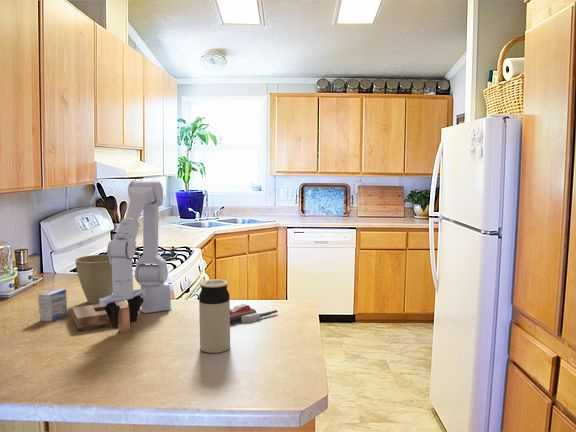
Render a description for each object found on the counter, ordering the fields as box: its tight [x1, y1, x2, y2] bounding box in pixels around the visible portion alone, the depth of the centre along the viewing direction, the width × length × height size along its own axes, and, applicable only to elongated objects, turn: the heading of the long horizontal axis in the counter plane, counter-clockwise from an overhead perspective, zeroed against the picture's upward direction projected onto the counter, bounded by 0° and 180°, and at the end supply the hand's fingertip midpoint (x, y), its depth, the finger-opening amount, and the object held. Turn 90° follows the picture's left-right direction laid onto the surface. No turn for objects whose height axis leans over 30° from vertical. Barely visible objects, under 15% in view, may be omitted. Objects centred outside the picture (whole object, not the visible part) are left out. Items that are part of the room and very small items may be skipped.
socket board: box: [71, 300, 134, 332], centre depth 154 cm, size 16×13×4 cm
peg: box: [118, 306, 131, 334], centre depth 145 cm, size 3×3×7 cm
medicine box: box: [38, 288, 68, 323], centre depth 157 cm, size 8×4×9 cm, turn 168°
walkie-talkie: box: [230, 303, 279, 326], centre depth 157 cm, size 9×4×20 cm
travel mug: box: [198, 278, 231, 354], centre depth 130 cm, size 8×8×18 cm
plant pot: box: [74, 254, 113, 305], centre depth 176 cm, size 15×15×16 cm
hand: (124, 324), depth 145 cm, fingers open, 6 cm apart
